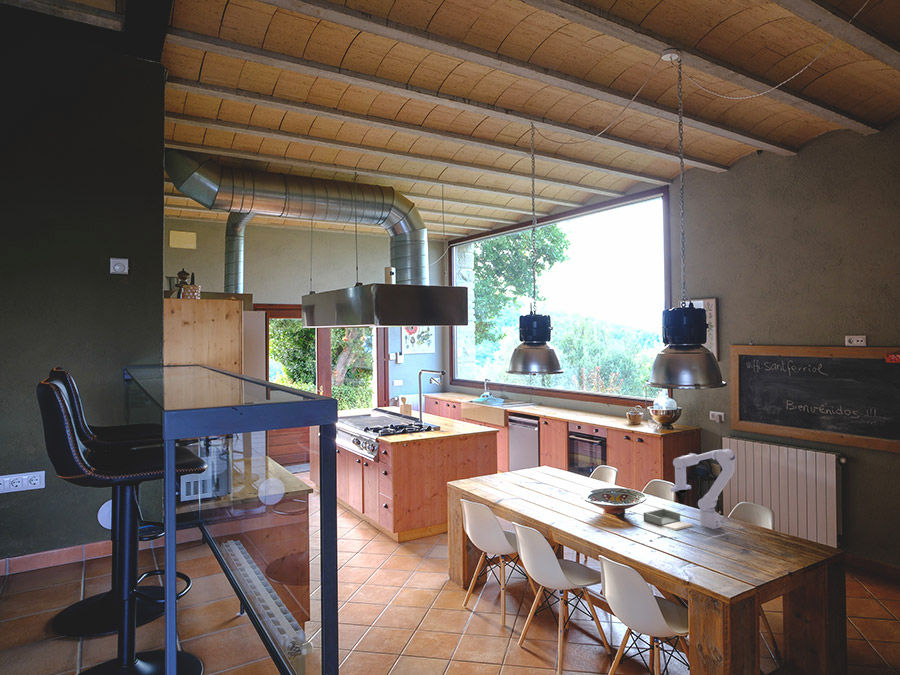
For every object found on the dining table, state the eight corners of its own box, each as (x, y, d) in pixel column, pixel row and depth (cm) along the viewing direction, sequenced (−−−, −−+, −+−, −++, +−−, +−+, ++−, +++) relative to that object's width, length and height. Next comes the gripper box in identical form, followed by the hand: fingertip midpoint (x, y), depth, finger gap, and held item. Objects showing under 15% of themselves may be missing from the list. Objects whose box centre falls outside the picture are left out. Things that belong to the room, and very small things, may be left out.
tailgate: (693, 525, 289) (693, 524, 289) (675, 530, 282) (675, 528, 283) (679, 522, 297) (679, 521, 297) (662, 527, 290) (662, 525, 290)
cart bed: (680, 522, 297) (680, 513, 298) (660, 527, 290) (660, 518, 290) (663, 517, 307) (663, 508, 307) (643, 521, 299) (643, 512, 300)
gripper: (683, 475, 309) (683, 499, 309) (665, 479, 302) (666, 503, 301) (694, 478, 303) (694, 502, 302) (676, 481, 296) (677, 506, 295)
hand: (681, 503), depth 302 cm, fingers closed
